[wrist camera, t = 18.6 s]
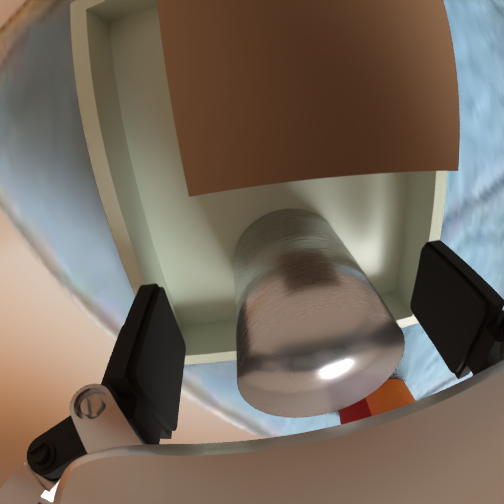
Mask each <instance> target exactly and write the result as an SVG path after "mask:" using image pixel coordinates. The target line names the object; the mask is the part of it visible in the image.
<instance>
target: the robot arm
mask: <svg viewBox="0 0 504 504" xmlns="http://www.w3.org/2000/svg"><path fill="white" fill-rule="evenodd" d="M503 306H504V300H503V298H502V297H501V296H500V295H499V294H498V293H497V292H496V291H495V290H494V289H493V288H492V287H491V286H490V285H489V284H488V283H487V282H486V281H485V280H484V279H483V278H482V277H481V276H480V275H479V274H477V273H476V272H475V271H474V270H473V269H472V268H471V267H470V266H469V265H468V264H467V263H466V262H465V261H463V260H462V259H461V258H460V257H459V256H458V255H457V254H456V253H454V252H453V251H452V250H451V249H450V248H449V247H448V246H446V245H445V244H444V243H443V242H442V241H440V240H435V241H430V242H426V243H425V245H424V247H422V249H421V254H420V259H419V265H418V270H417V275H416V280H415V285H414V289H413V294H412V298H411V302H410V308H411V311H412V313H413V314H414V316H415V317H416V319H417V320H418V322H419V323H420V325H421V326H422V328H423V329H424V331H425V332H426V334H427V335H428V337H429V338H430V340H431V341H432V343H433V344H434V346H435V347H436V349H437V350H438V352H439V354H440V355H441V357H442V358H443V360H444V361H445V363H446V365H447V366H448V368H449V370H450V371H451V372H452V373H455V375H456V377H457V378H458V379H460V378H462V377H464V376H466V375H468V374H469V373H470V371H471V372H472V373H473V376H472V377H470V378H468V379H466V380H464V381H462V382H460V383H458V384H456V385H453V386H451V387H449V388H447V389H445V390H442V391H440V392H438V393H435V394H433V395H430V396H428V397H426V398H423V399H421V400H418V401H415V402H413V403H410V404H407V405H405V406H402V407H399V408H396V409H393V410H390V411H387V412H384V413H381V414H378V415H374V416H371V417H368V418H364V419H361V420H357V421H353V422H349V423H346V424H342V425H337V426H333V427H329V428H324V429H320V430H315V431H310V432H305V433H299V434H293V435H287V436H281V437H274V438H266V439H258V440H249V441H238V442H224V443H207V444H159V442H160V439H171V434H172V431H175V430H176V428H177V421H178V412H179V402H180V394H181V385H182V377H183V369H184V362H185V354H186V345H185V341H184V339H183V336H182V334H181V331H180V329H179V326H178V324H177V321H176V319H175V316H174V314H173V311H172V308H171V306H170V303H169V300H168V297H167V295H166V292H165V289H164V288H163V287H159V286H158V284H156V283H154V284H147V285H141V286H140V287H139V289H138V292H137V294H136V297H135V299H134V301H133V304H132V306H131V309H130V311H129V314H128V316H127V319H126V321H125V324H124V325H123V326H122V328H121V330H120V333H119V336H118V338H117V341H116V343H115V346H114V349H113V352H112V355H111V357H110V360H109V363H108V366H107V369H106V371H105V374H104V377H103V380H102V383H101V384H89V385H86V386H84V387H82V388H81V389H79V390H78V391H77V392H76V393H75V395H74V396H73V398H72V400H71V402H70V414H71V415H70V416H69V417H68V418H66V419H65V420H63V421H62V422H60V423H59V424H57V425H56V426H54V427H52V428H51V429H50V430H48V431H47V432H45V433H43V434H42V435H40V436H39V437H37V438H36V439H35V440H34V441H33V442H32V443H31V444H30V446H29V448H28V451H27V461H28V463H27V464H25V463H24V462H23V463H22V464H21V465H20V466H19V468H18V469H17V470H16V471H15V472H14V474H13V475H12V476H11V477H10V479H9V480H8V481H7V482H6V483H5V485H4V486H3V487H2V488H1V489H0V504H504V311H503V310H502V308H503Z"/></svg>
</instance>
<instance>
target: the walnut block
mask: <svg viewBox="0 0 504 504" xmlns="http://www.w3.org/2000/svg"><path fill="white" fill-rule="evenodd" d="M157 5H158V14H159V23H160V31H161V39H162V46H163V54H164V61H165V68H166V74H167V81H168V87H169V93H170V99H171V105H172V111H173V117H174V123H175V128H176V134H177V139H178V144H179V150H180V155H181V160H182V165H183V170H184V175H185V180H186V184H187V189H188V194H189V197H191V196H197V195H203V194H209V193H215V192H221V191H227V190H234V189H240V188H247V187H254V186H261V185H269V184H276V183H284V182H293V181H301V180H310V179H320V178H330V177H341V176H353V175H365V174H380V173H397V172H419V171H458V165H459V138H460V121H459V96H458V82H457V72H456V64H455V56H454V49H453V43H452V38H451V32H450V27H449V22H448V18H447V14H446V9H445V5H444V2H443V0H157Z"/></svg>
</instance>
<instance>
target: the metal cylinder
mask: <svg viewBox="0 0 504 504" xmlns="http://www.w3.org/2000/svg"><path fill="white" fill-rule="evenodd" d="M234 287H235V327H236V359H237V384H238V389H239V392H240V394H241V396H242V397H243V398H244V400H245V401H246V402H247V403H248V404H250V405H251V406H252V407H254V408H255V409H257V410H260V411H262V412H264V413H267V414H271V415H275V416H281V417H293V418H297V417H311V416H317V415H323V414H327V413H331V412H334V411H337V410H340V409H342V408H345V407H348V406H350V405H352V404H354V403H356V402H358V401H360V400H361V399H363V398H365V397H366V396H368V395H369V394H371V393H372V392H374V391H375V390H376V389H378V388H379V387H380V386H381V385H382V384H383V383H384V382H385V381H386V380H387V379H388V378H389V377H390V376H391V375H392V373H393V372H394V371H395V369H396V368H397V366H398V364H399V362H400V360H401V358H402V355H403V351H404V344H405V342H404V335H403V332H402V330H401V328H400V327H399V325H398V323H397V322H396V320H395V319H394V317H393V315H392V314H391V312H390V311H389V309H388V308H387V306H386V304H385V303H384V301H383V300H382V298H381V297H380V295H379V294H378V292H377V291H376V289H375V288H374V286H373V285H372V283H371V282H370V280H369V279H368V277H367V276H366V274H365V273H364V271H363V270H362V269H361V267H360V266H359V264H358V263H357V261H356V260H355V259H354V257H353V256H352V254H351V253H350V251H349V250H348V249H347V247H346V246H345V245H344V243H343V242H342V240H341V239H340V238H339V236H338V235H337V234H336V232H335V231H334V230H333V228H332V227H331V226H330V224H329V223H328V222H327V221H326V220H325V219H323V218H322V217H320V216H319V215H317V214H315V213H313V212H310V211H307V210H303V209H294V208H290V209H281V210H276V211H273V212H270V213H268V214H266V215H263V216H262V217H260V218H258V219H257V220H255V221H254V222H253V223H252V224H251V225H249V227H248V228H247V229H246V230H245V231H244V232H243V234H242V235H241V237H240V239H239V241H238V243H237V246H236V249H235V254H234Z"/></svg>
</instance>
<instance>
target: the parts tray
mask: <svg viewBox="0 0 504 504" xmlns="http://www.w3.org/2000/svg"><path fill="white" fill-rule="evenodd" d="M70 25H71V43H72V55H73V65H74V74H75V82H76V89H77V96H78V102H79V108H80V114H81V119H82V125H83V130H84V134H85V139H86V144H87V148H88V153H89V157H90V161H91V165H92V169H93V173H94V177H95V180H96V184H97V188H98V191H99V195H100V198H101V202H102V205H103V208H104V211H105V215H106V218H107V221H108V224H109V227H110V230H111V233H112V236H113V239H114V242H115V245H116V247H117V250H118V253H119V256H120V258H121V261H122V264H123V266H124V269H125V272H126V274H127V277H128V279H129V282H130V284H131V287H132V289H133V291H134V294H135V296H136V294H137V292H138V289H139V287H140V286H141V285H147V284H154V283H156V284H158V286H159V287H163V288H164V289H165V292H166V295H167V297H168V300H169V303H170V306H171V308H172V311H173V314H174V316H175V319H176V321H177V324H178V326H179V329H180V331H181V334H182V336H183V339H184V341H185V345H186V354H185V362H184V365H186V364H200V363H211V362H222V361H231V360H237V359H236V327H235V287H234V254H235V249H236V246H237V243H238V241H239V239H240V237H241V235H242V234H243V232H244V231H245V230H246V229H247V228H248V227H249V225H251V224H252V223H253V222H254V221H255V220H257V219H258V218H260V217H262V216H263V215H266V214H268V213H270V212H273V211H276V210H281V209H290V208H294V209H303V210H307V211H310V212H313V213H315V214H317V215H319V216H320V217H322V218H323V219H325V220H326V221H327V222H328V223H329V224H330V226H331V227H332V228H333V230H334V231H335V232H336V234H337V235H338V236H339V238H340V239H341V240H342V242H343V243H344V245H345V246H346V247H347V249H348V250H349V251H350V253H351V254H352V256H353V257H354V259H355V260H356V261H357V263H358V264H359V266H360V267H361V269H362V270H363V271H364V273H365V274H366V276H367V277H368V279H369V280H370V282H371V283H372V285H373V286H374V288H375V289H376V291H377V292H378V294H379V295H380V297H381V298H382V300H383V301H384V303H385V304H386V306H387V308H388V309H389V311H390V312H391V314H392V315H393V317H394V319H395V320H396V322H397V323H398V325H399V327H400V328H402V327H406V326H409V325H413V324H416V323H419V322H418V320H417V319H416V317H415V316H414V314H413V313H412V311H411V308H410V302H411V298H412V294H413V289H414V285H415V280H416V275H417V270H418V265H419V259H420V254H421V249H422V247H424V245H425V243H426V242H430V241H435V240H440V234H441V228H442V221H443V214H444V206H445V197H446V187H447V174H448V171H419V172H397V173H380V174H365V175H353V176H341V177H330V178H320V179H310V180H301V181H293V182H284V183H276V184H269V185H261V186H254V187H247V188H240V189H234V190H227V191H221V192H215V193H209V194H203V195H197V196H191V197H189V194H188V189H187V184H186V180H185V175H184V170H183V165H182V160H181V155H180V150H179V144H178V139H177V134H176V128H175V123H174V117H173V111H172V105H171V99H170V93H169V87H168V81H167V74H166V68H165V61H164V54H163V46H162V39H161V31H160V23H159V14H158V5H157V0H76V1H74V2H72V3H70Z"/></svg>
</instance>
